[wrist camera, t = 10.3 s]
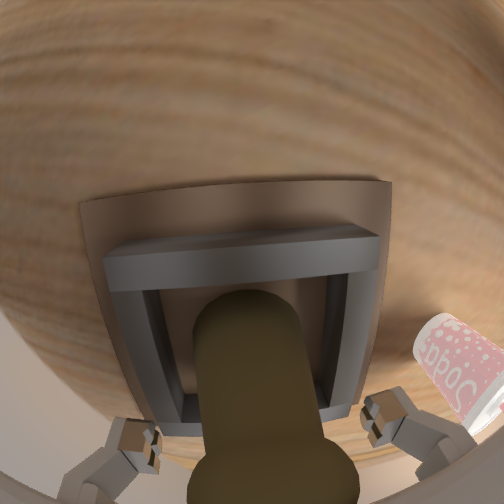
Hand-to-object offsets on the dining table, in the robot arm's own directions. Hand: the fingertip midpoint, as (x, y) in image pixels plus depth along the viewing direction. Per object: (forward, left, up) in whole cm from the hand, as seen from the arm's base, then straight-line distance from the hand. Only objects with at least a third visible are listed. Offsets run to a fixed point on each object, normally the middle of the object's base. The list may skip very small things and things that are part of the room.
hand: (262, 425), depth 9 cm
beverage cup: (-15, +4, -7) cm, 17 cm away
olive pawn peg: (0, 0, -6) cm, 6 cm away
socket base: (0, 0, -7) cm, 7 cm away
